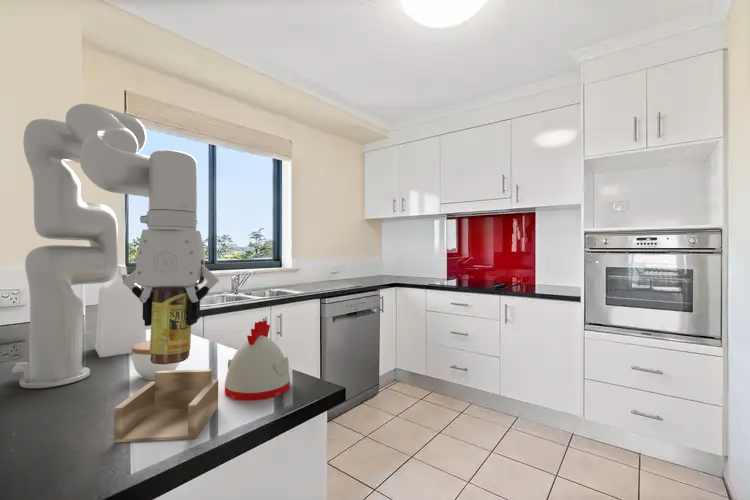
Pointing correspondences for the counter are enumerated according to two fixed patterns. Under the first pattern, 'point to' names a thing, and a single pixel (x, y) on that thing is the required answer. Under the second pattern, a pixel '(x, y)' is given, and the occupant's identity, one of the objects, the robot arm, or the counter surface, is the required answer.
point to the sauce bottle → (169, 325)
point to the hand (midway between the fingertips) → (171, 323)
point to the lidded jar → (148, 361)
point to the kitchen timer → (257, 368)
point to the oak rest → (168, 407)
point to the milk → (118, 318)
